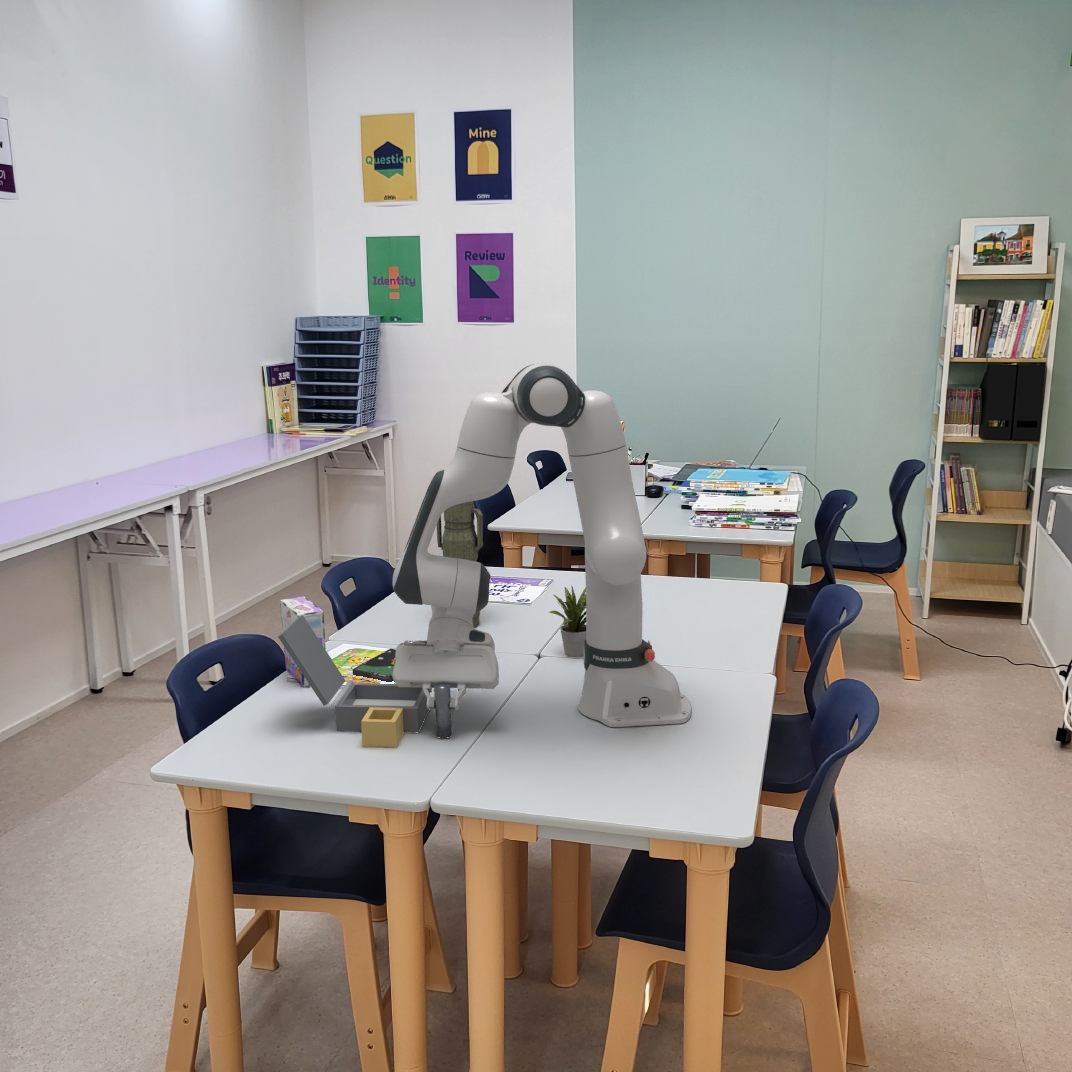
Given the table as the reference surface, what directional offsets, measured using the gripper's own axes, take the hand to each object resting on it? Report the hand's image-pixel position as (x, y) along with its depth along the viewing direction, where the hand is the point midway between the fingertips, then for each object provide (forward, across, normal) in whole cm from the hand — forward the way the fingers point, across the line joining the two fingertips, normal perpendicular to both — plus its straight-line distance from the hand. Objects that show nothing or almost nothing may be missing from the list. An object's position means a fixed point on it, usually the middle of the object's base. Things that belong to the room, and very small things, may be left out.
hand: (442, 708), depth 186 cm
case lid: (-10, -26, +1) cm, 28 cm away
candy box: (-17, -36, +25) cm, 47 cm away
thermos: (-43, -7, +51) cm, 67 cm away
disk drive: (-19, -18, +28) cm, 39 cm away
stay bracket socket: (+5, -11, +3) cm, 13 cm away
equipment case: (-1, -13, +10) cm, 16 cm away
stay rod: (+4, 0, +4) cm, 6 cm away
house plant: (-28, +23, +37) cm, 51 cm away
